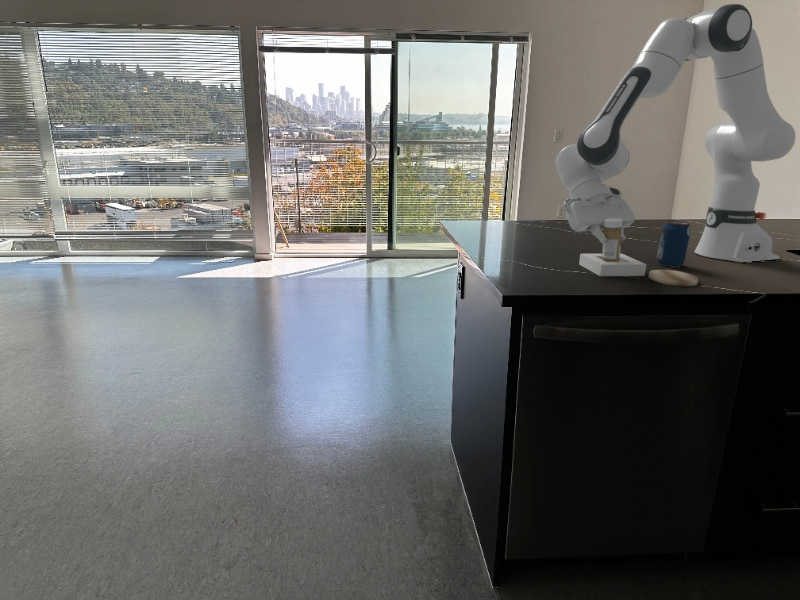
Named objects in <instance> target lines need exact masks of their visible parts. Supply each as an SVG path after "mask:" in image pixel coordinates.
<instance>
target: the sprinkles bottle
mask: <svg viewBox="0 0 800 600" xmlns="http://www.w3.org/2000/svg"><path fill="white" fill-rule="evenodd" d="M603 226H604V229H603V233H604V234H607V235H608V238H609V241H608V242H607V243H602V252H601V254H602V260H604V261H606V262H620V254H621V251H622V250H621V249H622V248H621V243H622V241H621V228H622V226H623V219H621V218H606V219H604V223H603Z"/></svg>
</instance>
